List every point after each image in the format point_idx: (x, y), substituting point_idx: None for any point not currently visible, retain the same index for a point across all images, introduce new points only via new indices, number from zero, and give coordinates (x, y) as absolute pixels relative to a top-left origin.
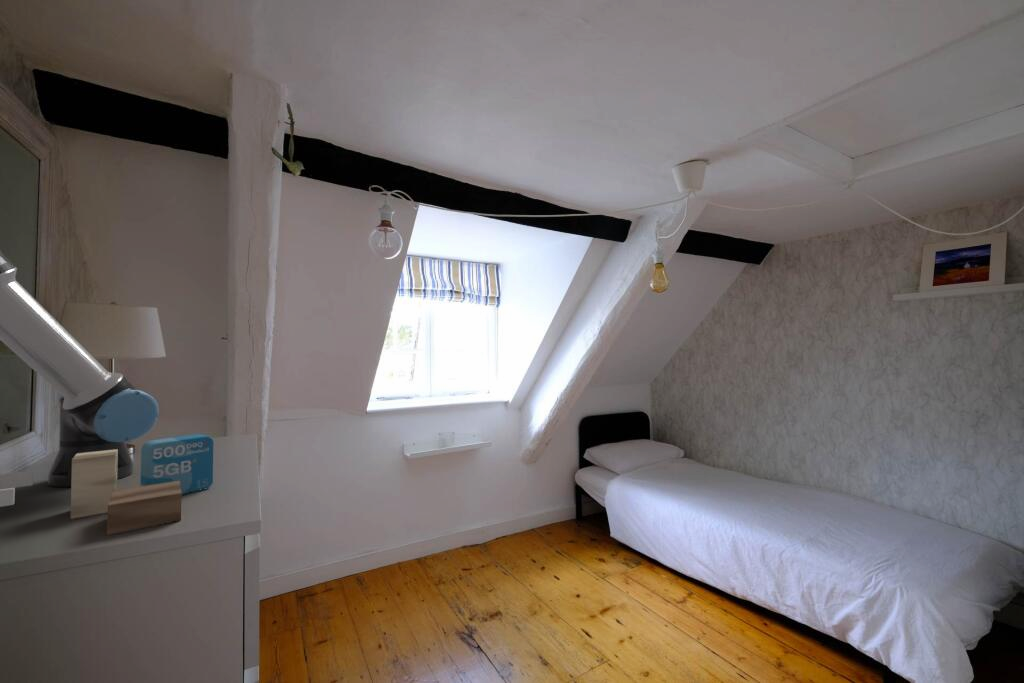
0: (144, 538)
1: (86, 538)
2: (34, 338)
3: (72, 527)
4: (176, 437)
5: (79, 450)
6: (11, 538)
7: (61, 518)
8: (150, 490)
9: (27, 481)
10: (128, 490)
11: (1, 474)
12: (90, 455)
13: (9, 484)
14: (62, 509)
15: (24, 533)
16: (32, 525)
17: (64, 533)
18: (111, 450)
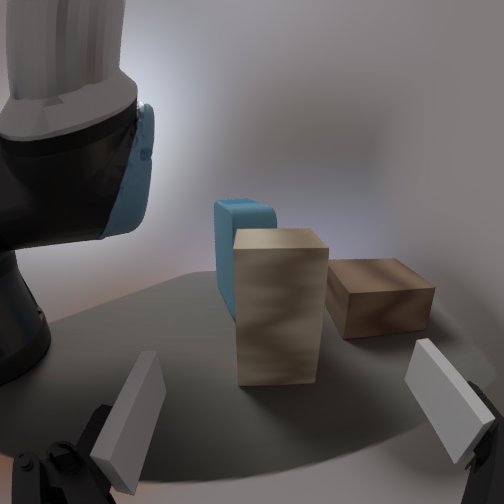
0: (439, 305)
1: (433, 342)
2: None
3: (377, 368)
4: (227, 203)
5: None
6: (410, 426)
7: (302, 395)
8: (370, 271)
9: (160, 388)
10: (360, 282)
11: (120, 409)
12: (293, 239)
13: (150, 423)
14: (215, 402)
15: (385, 419)
16: (329, 426)
17: (406, 368)
18: (248, 231)
